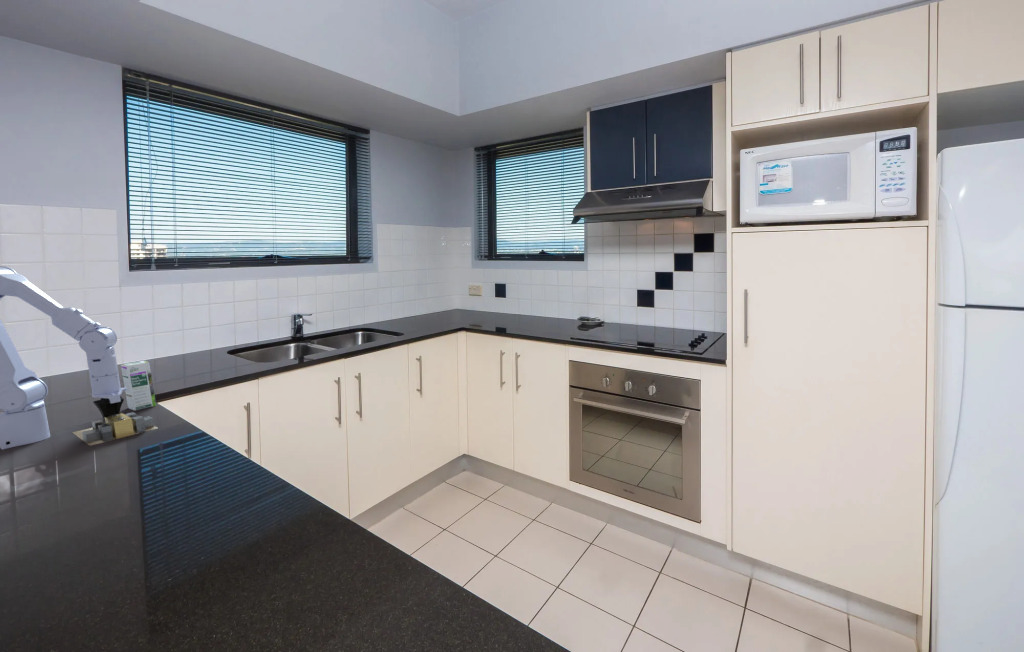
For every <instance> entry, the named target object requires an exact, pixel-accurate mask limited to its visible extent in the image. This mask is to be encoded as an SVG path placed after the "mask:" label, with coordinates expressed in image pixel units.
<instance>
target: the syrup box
mask: <svg viewBox="0 0 1024 652" xmlns="http://www.w3.org/2000/svg"><path fill="white" fill-rule="evenodd" d="M120 368H121V375H122V379H123V380H122V381H123V385H124V388H127V391H124V392H125V397H126V403H127V408H128V409H129V410H132V411H139V410H142V409H147V408H152V407H156V406H157V402H156V395H155V389H154V383H153V377H152V371H151V364H150V362H149V361H147V360H140V361H135V362H129V363H121V364H120Z"/></svg>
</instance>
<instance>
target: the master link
mask: <svg viewBox="0 0 1024 652" xmlns="http://www.w3.org/2000/svg"><path fill="white" fill-rule="evenodd" d="M125 414H126V413H125ZM125 414H124V413H121V412H120V414H115V415H112V416H107V417H105V421H104V423H105V422H106V423H105V424H109V425H111V430H112V436H113V437H114V438H116V439H115V440H117V438H118V439H122V438H126V437H130V436H134V435H135V434H134V430H133V424H132V418H130V417H128V416H127V415H125ZM133 434H134V435H133ZM129 435H130V436H129ZM125 436H126V437H125ZM121 437H122V438H121Z"/></svg>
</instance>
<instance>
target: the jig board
mask: <svg viewBox="0 0 1024 652" xmlns="http://www.w3.org/2000/svg"><path fill="white" fill-rule="evenodd" d="M92 429H93V427H89V428H85V429H81V430H76V431H72V432H71V433H73V435H75V436H77V438H78V439H80V440H81V441H82V442H84V443H85V444H87V445H88V446H94V445H99V444H103V443H104V442H103V441H102V440H98V441H94V442H90V443H86V442H85V441H84V440H83V435H82V432H83V431H88V430H92ZM157 429H158V427H157V426H155V425H154V427H150V428H146V431H145V432H148V431H153V430H157ZM145 432H144V433H145ZM141 433H143V432H141ZM141 433H140V434H141ZM137 434H139V433H136V432H134V434H133V435H132V436H134V435H137ZM130 436H131V435H129V436H128V437H130ZM126 437H127V436H125V437H124V438H126ZM122 438H123V437H121V438H120V439H122ZM117 439H119V438H117ZM117 439H116V438H114V437H113V440H112V441H114V440H117ZM109 441H110V442H111V440H109ZM109 441H108V442H109Z"/></svg>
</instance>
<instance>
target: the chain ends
mask: <svg viewBox="0 0 1024 652" xmlns="http://www.w3.org/2000/svg"><path fill="white" fill-rule="evenodd" d="M125 415H127V416H128V417H130V418H132V424H133V430H134V432H136V433H138V434H141V432H142V433H145V431H146V428H150V427H154V426H155V422H154V421H155V420H154V417H151V416H149V415H148V416H142V415H138V414H137V413H136V412H133V411H132V412H128V413H125ZM91 425H92V426H91V427H92V428H93V429H92V430H88V431H83V432H82V435H83V440H84V441H85V442H86V443H85V442H84V441H83V440H82V441H83V442H84V443H85V444H87V443H90V442H94V441H98V440H102V441H103V442H102V443H107V442H109V440H110V441H114V440H113V436H112V430H111V425H109V424H106V423H105V421H104V420H103V419H97V420H92V421H91ZM146 432H147V431H146Z"/></svg>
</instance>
